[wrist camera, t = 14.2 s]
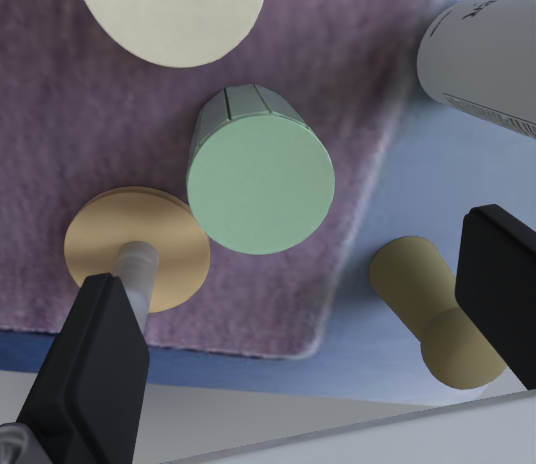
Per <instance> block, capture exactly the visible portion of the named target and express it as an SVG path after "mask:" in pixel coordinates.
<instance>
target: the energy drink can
mask: <svg viewBox="0 0 536 464" xmlns="http://www.w3.org/2000/svg"><path fill="white" fill-rule="evenodd" d="M417 73H418V78H419V81H420V83H421V86H422V88H423V89H424V91H425V92H426V94H428V95H429V96H430V97H431V98H432V99H433V100H435V101H437V102H439V103H442V104H444V105H447V106H450V107H452V108H455V109H457V110H460V111H463V112H465V113H468V114H470V115H473V116H476V117H478V118H481V119H483V120H486V121H489V122H491V123H494V124H497V125H499V126H502V127H504V128H507V129H510V130H512V131H515V132H517V133H520V134H523V135H525V136H528V137H531V138H533V139H536V0H465V1H461V2H459V3H456V4H454V5H452V6H451V7H449V8H447V9H446V10H444V11H443V12H442V13H441V14H440V15H439V16H438V17H437V18H436V19H435V20H434V21H433V22H432V24H431V25H430V26H429V28H428V29H427V31H426V33H425V35H424V37H423V39H422V41H421V44H420V47H419V51H418V56H417Z"/></svg>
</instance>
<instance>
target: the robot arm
mask: <svg viewBox="0 0 536 464" xmlns="http://www.w3.org/2000/svg"><path fill="white" fill-rule="evenodd" d="M454 294H455V299H456V301H457V304H458V305H459V306H460V308H461V309H462V310H463V311H464V313H465V314H466V315H467V316H468V317H469V319H470V320H471V321H472V322H473V324H474V325H475V326H476V327H477V328H478V330H479V331H480V332H481V333H482V335H483V336H484V337H485V338H486V339H487V341H488V342H489V343H490V344H491V346H492V347H493V348H494V349H495V351H496V352H497V353H498V354H499V355H500V357H501V358H502V359H503V360H504V362H505V363H506V364H507V365H508V366H509V368H510V369H511V370H512V371H513V373H514V374H515V375H516V376H517V378H518V379H519V380H520V381H521V382H522V384H523V385H524V386H525V387H526V389H527V390H528V391H523V392H518V393H512V394H507V395H502V396H497V397H491V398H486V399H481V400H475V401H470V402H465V403H460V404H454V405H449V406H444V407H439V408H433V409H428V410H424V411H418V412H413V413H408V414H403V415H398V416H393V417H387V418H382V419H377V420H372V421H367V422H362V423H357V424H352V425H347V426H342V427H337V428H332V429H326V430H321V431H316V432H311V433H306V434H301V435H297V436H291V437H287V438H281V439H276V440H271V441H266V442H262V443H257V444H252V445H247V446H242V447H237V448H232V449H227V450H222V451H217V452H212V453H208V454H202V455H197V456H193V457H188V458H183V459H179V460H174V461H170V462H166V463H160V464H536V232H535V231H533V230H532V229H531V228H529V227H528V226H526V225H525V224H524V223H522V222H521V221H519V220H518V219H517V218H515V217H514V216H512V215H511V214H509V213H508V212H507V211H505V210H504V209H502V208H501V207H500V206H498V205H496V204H491V205H485V206H480V207H474V208H472V209H471V210H470V212H469V214H466V215H465V217H464V220H463V228H462V236H461V244H460V252H459V260H458V268H457V275H456V283H455V293H454ZM149 361H150V357H149V350H148V347H147V345H146V342H145V339H144V337H143V334H142V332H141V329H140V327H139V324H138V322H137V319H136V316H135V314H134V311H133V309H132V306H131V304H130V301H129V299H128V296H127V293H126V291H125V288H124V286H123V283H122V281H121V279H120V277H118V276H116V277H113V275H112V274H111V273H110V272H107V273H101V274H96V275H90V276H87V277H86V278H85V280H84V282H83V284H82V286H81V288H80V290H79V293H78V295H77V297H76V299H75V301H74V304H73V306H72V308H71V310H70V312H69V314H68V317H67V319H66V321H65V323H64V325H63V328H62V330H61V332H59V333H58V334H57V335H56V337H55V339H54V341H53V343H52V345H51V347H50V349H49V351H48V354H47V356H46V358H45V360H44V362H43V364H42V366H41V369H40V371H39V373H38V375H37V377H36V379H35V382H34V384H33V386H32V388H31V390H30V392H29V394H28V397H27V399H26V401H25V403H24V405H23V407H22V410H21V411H20V414H19V416H18V418H17V420H16V422H12V423H5V424H2V425H0V464H132V461H133V454H134V449H135V443H136V438H137V432H138V426H139V420H140V414H141V409H142V403H143V397H144V391H145V385H146V380H147V374H148V368H149Z"/></svg>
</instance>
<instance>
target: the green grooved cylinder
mask: <svg viewBox="0 0 536 464" xmlns="http://www.w3.org/2000/svg"><path fill="white" fill-rule="evenodd" d="M186 187H187V196H188V202H189V206H190V209H191V212H192V214H193V216H194V218H195V220H196V222H197V223H198V225H199V226H200V228H201V229H202V230H203V231H204V232H205V233H206V234H207V235H208V236H209V237H210V238H211V239H213V240H214V241H215V242H217V243H218V244H220V245H222V246H224V247H226V248H228V249H230V250H233V251H236V252H240V253H245V254H253V255H263V254H271V253H276V252H280V251H283V250H286V249H289V248H291V247H293V246H295V245H297V244H298V243H300V242H302V241H303V240H305V239H306V238H307V237H308V236H310V235H311V234H312V233H313V232H314V231H315V230H316V229H317V228H318V226H319V225H320V224H321V222H322V221H323V220H324V218H325V216H326V214H327V213H328V210H329V208H330V206H331V203H332V199H333V195H334V188H335V177H334V169H333V165H332V162H331V159H330V157H329V153H328V152H327V150H326V149H325V147H324V146H323V144H322V143H321V142H320V141H319V139H318V138H317V137H316V135H315V134H314V132H313V131H312V130H311V128H310V127H309V126H308V125H307V124H306V122H305V121H304V120H303V119H302V118H301V117H300V116H299V115H298V113H297V112H296V111H295V110H294V109H293V108H292V107H291V106H290V104H289V103H288V102H287V101H286V100H285V99H284V98H283V96H281V95H280V94H279V93H276V92H274V91H271V90H269V89H267V88H264V87H262V86H259V85H257V84H255V85H254V86H253V85H252V84H246V85H240V86H233V87H227V88H226V92H225V91H224V90H223V89H222V90H221V91H220V92H219V93H218V94H216V95H215V96H214V97H213V98H212V99H211V100H209V101H208V102H207V103H206V104H205V105H204V106H203V109H201V110H200V113H199V116H198V119H197V122H196V125H195V128H194V131H193V136H192V142H191V148H190V155H189V161H188V167H187V174H186Z"/></svg>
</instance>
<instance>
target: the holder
mask: <svg viewBox="0 0 536 464" xmlns="http://www.w3.org/2000/svg"><path fill="white" fill-rule="evenodd" d="M64 256H65V261H66V264H67V267H68V270H69V272H70V274H71V276H72V278H73V279H74V280H75V282H76V283H77V285H78V286H79V287H80V288H81V286H82V284H83V282H84V280H85V278H86V277H87V276H90V275H96V274H101V273H107V272H110V273H111V274H112V275H113V277H116V276H118V277H120V279H121V281H122V283H123V286H124V288H125V291H126V293H127V296H128V299H129V301H130V304H131V306H132V309H133V311H134V314H135V316H136V319H137V322H138V324H139V327H140V329H141V332H142V334H143V335H144V330H145V326H146V321H147V316H148V313H155V312H160V311H165V310H168V309H171V308H173V307H176V306H178V305H180V304H182V303H183V302H185V301H186V300H188V299H189V298H190V297H191V296H192V295H194V294H195V293H196V291H197V290H198V289H199V288H200V287H201V285H202V284H203V282H204V280H205V278H206V276H207V273H208V270H209V266H210V241H209V236H208V235H207V234H206V233H205V232H204V231H203V230H202V229H201V228H200V226H199V225H198V223H197V222H196V220H195V218H194V216H193V214H192V212H191V209H190V207H189V206H188V205H187V204H186V203H184V202H183V201H181V200H180V199H178V198H177V197H175V196H173V195H171V194H169V193H166V192H164V191H161V190H157V189H153V188H149V187H141V186H129V187H120V188H116V189H111V190H109V191H106V192H103V193H101V194H99V195H97V196H96V197H94V198H92V199H91V200H90V201H88V202H87V203H86V204H85V205H84V206H83V207H82V208H81V209H80V210H79V212H78V213H77V215H76V216H75V217H74V219H73V220H72V222H71V224H70V226H69V228H68V230H67V233H66V236H65V241H64Z"/></svg>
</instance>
